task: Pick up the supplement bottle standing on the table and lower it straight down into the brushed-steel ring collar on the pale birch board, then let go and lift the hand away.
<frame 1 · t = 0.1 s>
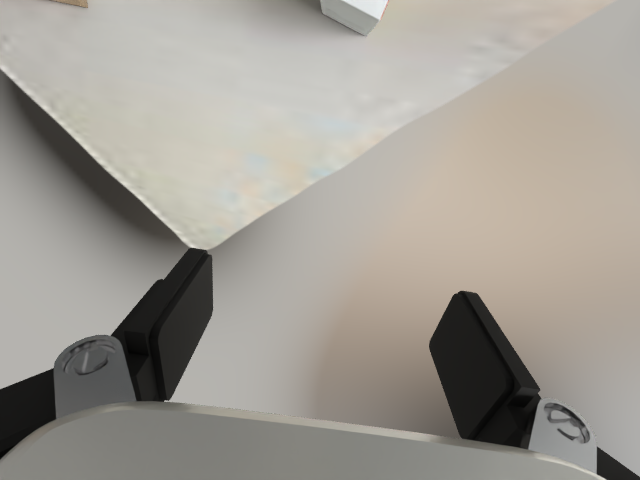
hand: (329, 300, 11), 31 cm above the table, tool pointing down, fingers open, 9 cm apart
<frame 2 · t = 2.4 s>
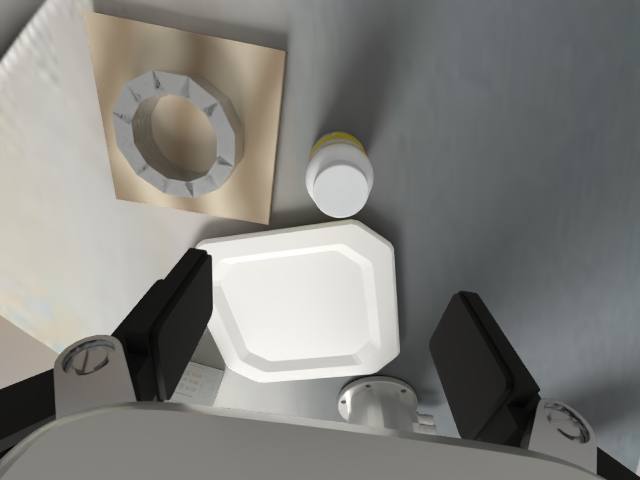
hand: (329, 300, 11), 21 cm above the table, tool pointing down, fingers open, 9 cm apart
steel ring collar: (182, 137, 26), on the fitting board, point 3 cm above the table
plate: (300, 304, 39), on the table
fitting board: (195, 132, 28), on the table
supplement bottle: (337, 157, 29), on the table
small box: (197, 372, 47), on the table
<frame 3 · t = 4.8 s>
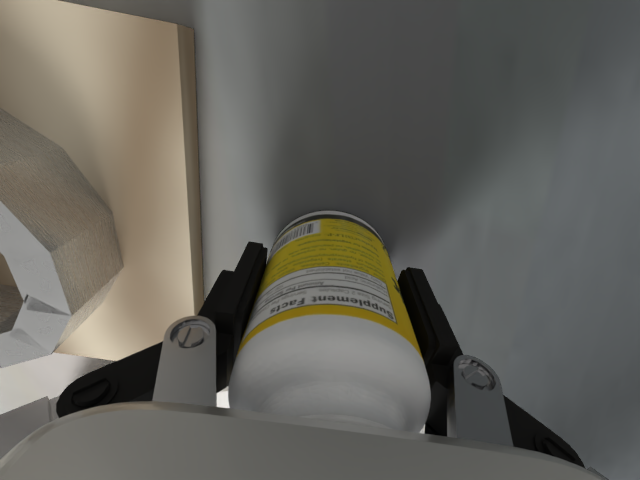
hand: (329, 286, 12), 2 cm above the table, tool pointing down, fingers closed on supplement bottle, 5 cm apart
fitting board: (20, 209, 13), on the table
supplement bottle: (329, 256, 14), on the table, touching gripper
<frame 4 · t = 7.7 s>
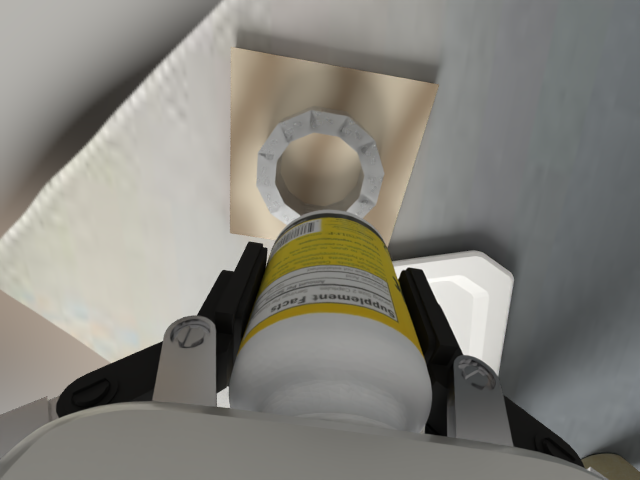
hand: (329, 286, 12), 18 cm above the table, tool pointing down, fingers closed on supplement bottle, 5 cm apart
steel ring collar: (319, 174, 25), on the fitting board, point 3 cm above the table
plate: (395, 331, 38), on the table
fitting board: (320, 165, 27), on the table
supplement bottle: (330, 256, 14), point 15 cm above the table, touching gripper
plant pot: (596, 462, 52), on the table
when the fingers open (4 cm above the table, at t = 10.7 s): supplement bottle drops 1 cm, resting on fitting board.
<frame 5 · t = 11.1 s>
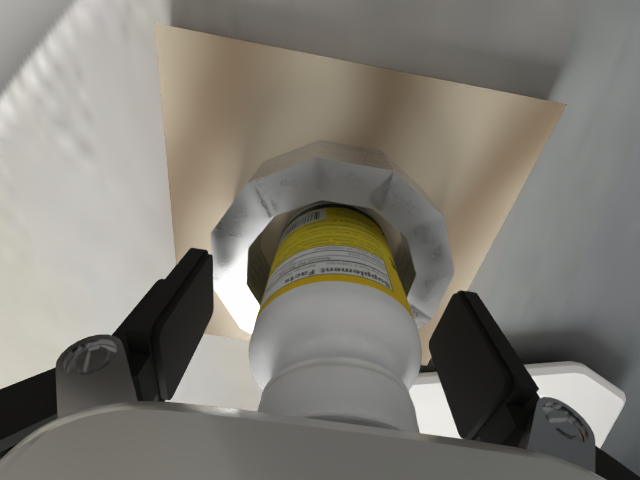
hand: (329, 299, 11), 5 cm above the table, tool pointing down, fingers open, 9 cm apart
steel ring collar: (329, 259, 14), on the fitting board, point 3 cm above the table
plate: (429, 440, 27), on the table
fitting board: (329, 232, 16), on the table
supplement bottle: (333, 244, 15), point 1 cm above the table, touching fitting board
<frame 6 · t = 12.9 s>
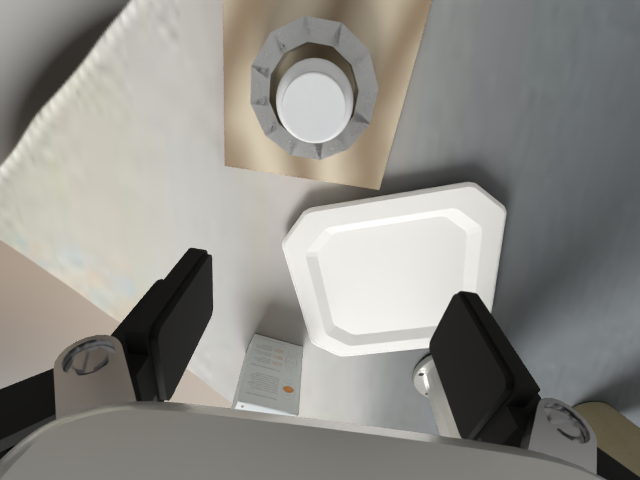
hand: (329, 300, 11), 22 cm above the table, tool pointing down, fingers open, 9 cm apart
steel ring collar: (314, 94, 25), on the fitting board, point 3 cm above the table
plate: (390, 275, 39), on the table
fitting board: (315, 91, 27), on the table
supplement bottle: (316, 94, 26), point 1 cm above the table, touching fitting board
plant pot: (584, 411, 54), on the table
small box: (274, 349, 46), on the table
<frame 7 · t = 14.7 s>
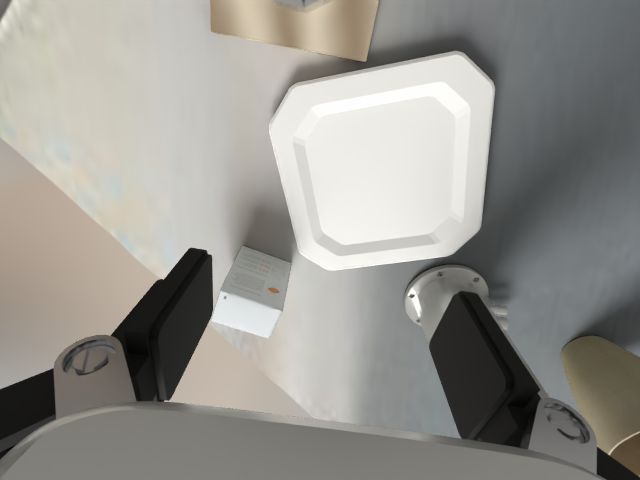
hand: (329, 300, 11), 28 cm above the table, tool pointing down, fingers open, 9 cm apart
plate: (379, 176, 38), on the table
plant pot: (581, 349, 52), on the table
small box: (262, 266, 46), on the table
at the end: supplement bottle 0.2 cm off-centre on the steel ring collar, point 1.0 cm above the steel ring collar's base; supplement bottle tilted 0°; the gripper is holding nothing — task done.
